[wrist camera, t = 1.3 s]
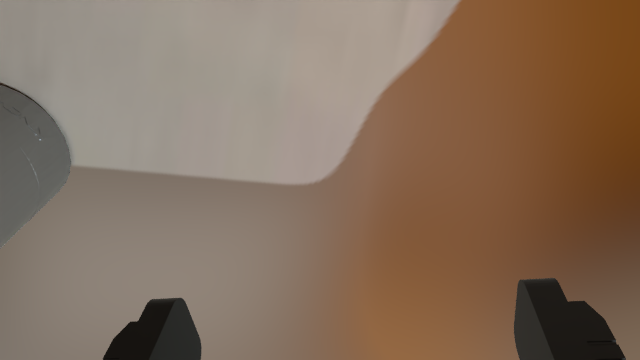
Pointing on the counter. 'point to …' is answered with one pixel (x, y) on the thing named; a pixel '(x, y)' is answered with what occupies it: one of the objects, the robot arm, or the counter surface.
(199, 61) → the counter surface
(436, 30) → the counter surface
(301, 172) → the counter surface
